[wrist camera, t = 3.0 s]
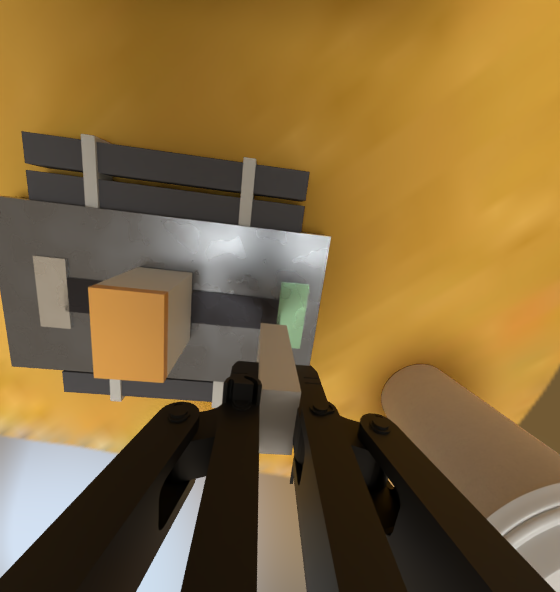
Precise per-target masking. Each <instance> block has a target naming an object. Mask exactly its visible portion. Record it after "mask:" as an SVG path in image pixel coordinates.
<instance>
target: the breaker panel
mask: <svg viewBox="0 0 560 592" xmlns="http://www.w3.org/2000/svg"><path fill="white" fill-rule="evenodd" d="M330 240H331V237H330V236H326V235H323V234H314V233H306V232H301V233H298V232H290V231H282V230H274V229H266V228H257V227H248V226H240V225H233V224H225V223H217V222H208V221H200V220H192V219H184V218H176V217H168V216H159V215H151V214H143V213H135V212H127V211H118V210H110V209H102V208H93V207H85V206H78V205H69V204H61V203H53V202H45V201H37V200H29V198H21V197H9V196H0V291H1V298H2V304H3V311H4V317H5V324H6V331H7V337H8V344H9V350H10V357H11V363H12V366H14V367H28V368H41V369H55V370H68V371H81V372H93V357H92V342H91V326H90V311H89V296H88V287H90V286H92V285H95V284H97V283H100V282H102V281H105V280H107V279H110V278H112V277H115V276H117V275H119V274H122V273H124V272H127V271H129V270H132V269H134V268H137V267H143V268H153V269H162V270H171V271H181V272H190V273H192V297H191V324H190V340H189V342H188V343H187V345H186V347H185V348H184V350H183V352H182V353H181V355H180V357H179V358H178V360H177V361H176V363H175V365H174V366H173V368H172V370H171V371H170V373H169V375H168V376H167V378H175V379H189V380H202V381H215V382H225V380H226V378H228V377H230V374H231V370H232V366H233V365H234V364H235V363H236V362H237V361H248V362H257V354H258V345H259V336H260V327H261V323H267V324H277V325H287V330H288V334H289V339H290V343H291V348H292V352H293V357H294V361H295V365H307V366H310V360H311V354H312V348H313V342H314V336H315V330H316V324H317V318H318V312H319V306H320V300H321V294H322V288H323V282H324V276H325V270H326V264H327V258H328V252H329V246H330Z"/></svg>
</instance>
